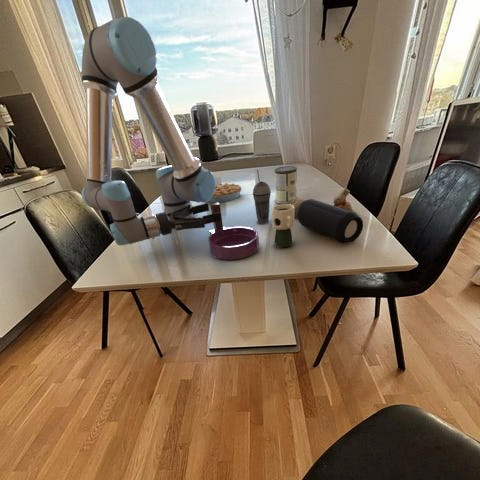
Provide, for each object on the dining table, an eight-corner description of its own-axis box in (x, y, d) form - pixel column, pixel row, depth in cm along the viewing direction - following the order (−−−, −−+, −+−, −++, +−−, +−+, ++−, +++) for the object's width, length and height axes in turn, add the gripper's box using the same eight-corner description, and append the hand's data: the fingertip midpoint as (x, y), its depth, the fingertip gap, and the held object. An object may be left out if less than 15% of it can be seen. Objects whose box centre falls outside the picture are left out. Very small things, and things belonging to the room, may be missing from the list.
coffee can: (280, 196, 144) (280, 165, 135) (299, 197, 139) (300, 166, 130) (271, 202, 138) (270, 171, 129) (290, 204, 133) (291, 171, 124)
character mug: (267, 242, 102) (266, 205, 94) (285, 237, 104) (285, 201, 95) (280, 253, 94) (280, 214, 86) (300, 248, 95) (301, 209, 87)
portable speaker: (362, 241, 95) (367, 211, 89) (339, 249, 92) (343, 218, 86) (313, 221, 113) (315, 195, 107) (293, 227, 110) (294, 200, 104)
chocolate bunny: (332, 210, 121) (335, 185, 115) (352, 209, 119) (355, 184, 113) (332, 214, 117) (334, 189, 111) (352, 214, 115) (355, 188, 108)
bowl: (201, 255, 99) (198, 242, 96) (230, 237, 109) (228, 224, 106) (240, 265, 90) (238, 250, 87) (268, 244, 101) (267, 230, 97)
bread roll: (293, 227, 119) (299, 212, 113) (281, 211, 123) (285, 196, 116) (312, 221, 123) (318, 206, 116) (299, 206, 126) (305, 190, 119)
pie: (197, 196, 160) (195, 187, 157) (232, 188, 166) (231, 179, 163) (210, 206, 144) (209, 195, 141) (248, 196, 150) (248, 186, 146)
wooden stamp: (214, 240, 108) (208, 207, 101) (210, 236, 112) (204, 204, 104) (229, 236, 110) (225, 203, 102) (225, 232, 113) (220, 200, 106)
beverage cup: (270, 224, 115) (269, 170, 102) (253, 225, 117) (249, 172, 104) (272, 218, 120) (271, 166, 108) (255, 219, 122) (252, 167, 110)
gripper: (154, 225, 110) (205, 212, 116) (168, 247, 92) (228, 231, 98) (148, 205, 106) (202, 193, 111) (162, 224, 87) (225, 209, 93)
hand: (214, 211), depth 104 cm, fingers open, 13 cm apart
